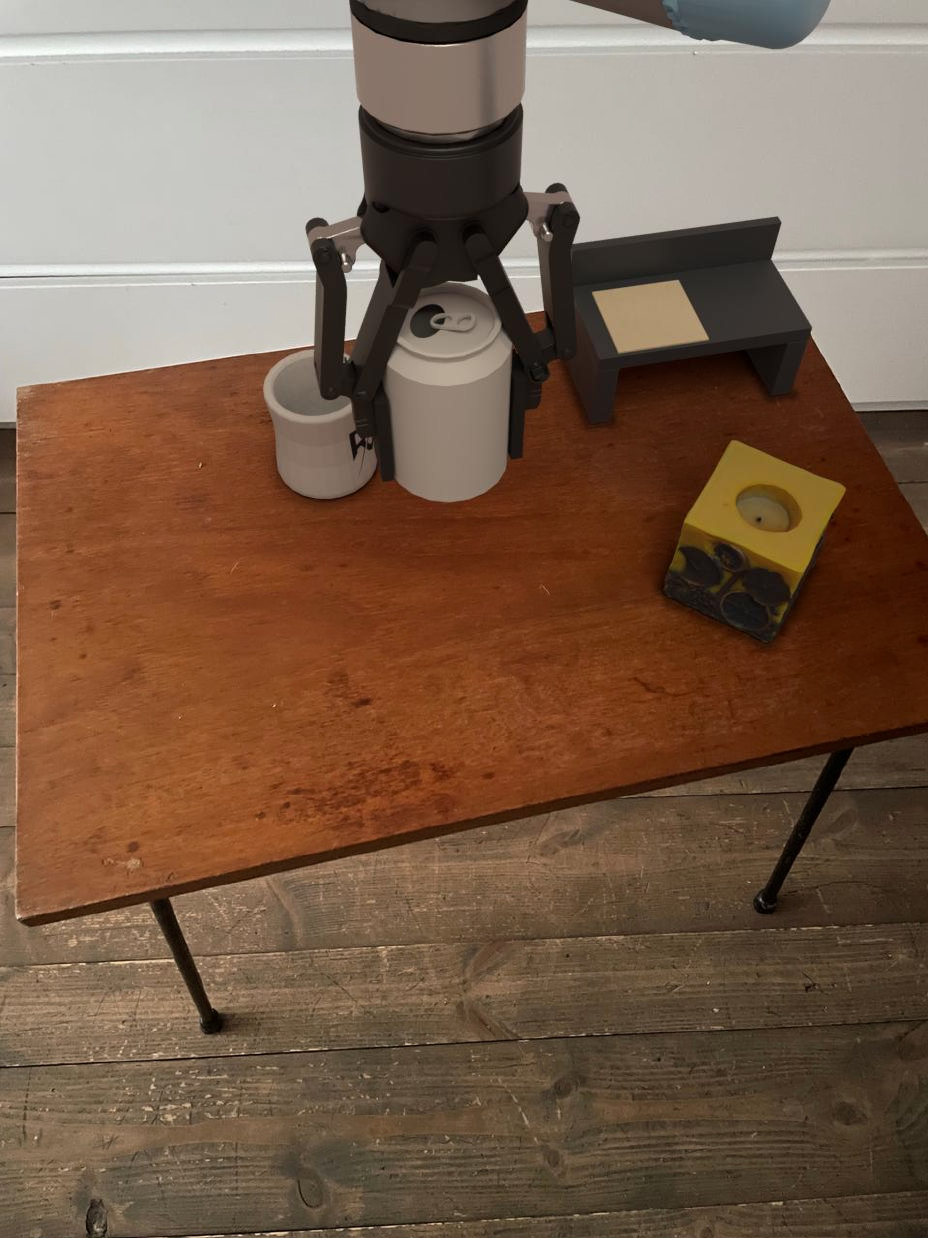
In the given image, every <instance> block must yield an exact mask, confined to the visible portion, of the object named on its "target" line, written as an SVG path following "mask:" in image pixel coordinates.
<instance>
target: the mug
mask: <svg viewBox="0 0 928 1238" xmlns="http://www.w3.org/2000/svg"><path fill="white" fill-rule="evenodd" d="M345 347H346V346H344V357H346V358H347V360H348V359H349V357H350V355H349V354H347V353H346V348H345ZM343 363H345V362H344V361H343ZM262 385H263V386H262V392H263V399H264V402H265V404H266V407H267V410H268V413H269V415H270V419H271V421H272V424H273V429H274V435H275V457H276V466H277V472H278V474H279V476H280V477H281V479H282V481H283V482H284V483H283V484H285V485H286V486H287V487H288V488H290V489H291V490H292V491H293V492H296V493H297V494H299V495H301V496H304V497H308V498H313V499H318V500H319V499H320V500H323V499H324V500H331V499H336V498H342V497H344V496H347V495H350V494H352V493H355V492H356V491H358V490H360V489H361V488H362V487H364V486H365V485H366V484H367V483H368V482H369V481H370V479H372V477H373V475H374V473H375V471H376V469H377V465H378V463H377V459H376V455H375V450H374V441H373V437H369V438H363V439H361V438H360V437H359V436H358V434H357V432H356V428H355V424H354V420H353V415H352V406H351V399H350V398H348V397H346V396H339V397H338V398H337V399H335V400H325V399H323V398H322V397H321V394H320V390H319V386H318V382H317V378H316V373H315V368H314V348H313V349H304V350H301V351H300V350H299V351H297V352H294V353H291V354H288V355H287V356H286V357H284V358H282V359H280V360H279V361H278V362H276V364H275V365H274V366H272V367H271V368H270V369H269V371H268V373H267V375H266V376H265V378H264V381H263V384H262Z"/></svg>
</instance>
